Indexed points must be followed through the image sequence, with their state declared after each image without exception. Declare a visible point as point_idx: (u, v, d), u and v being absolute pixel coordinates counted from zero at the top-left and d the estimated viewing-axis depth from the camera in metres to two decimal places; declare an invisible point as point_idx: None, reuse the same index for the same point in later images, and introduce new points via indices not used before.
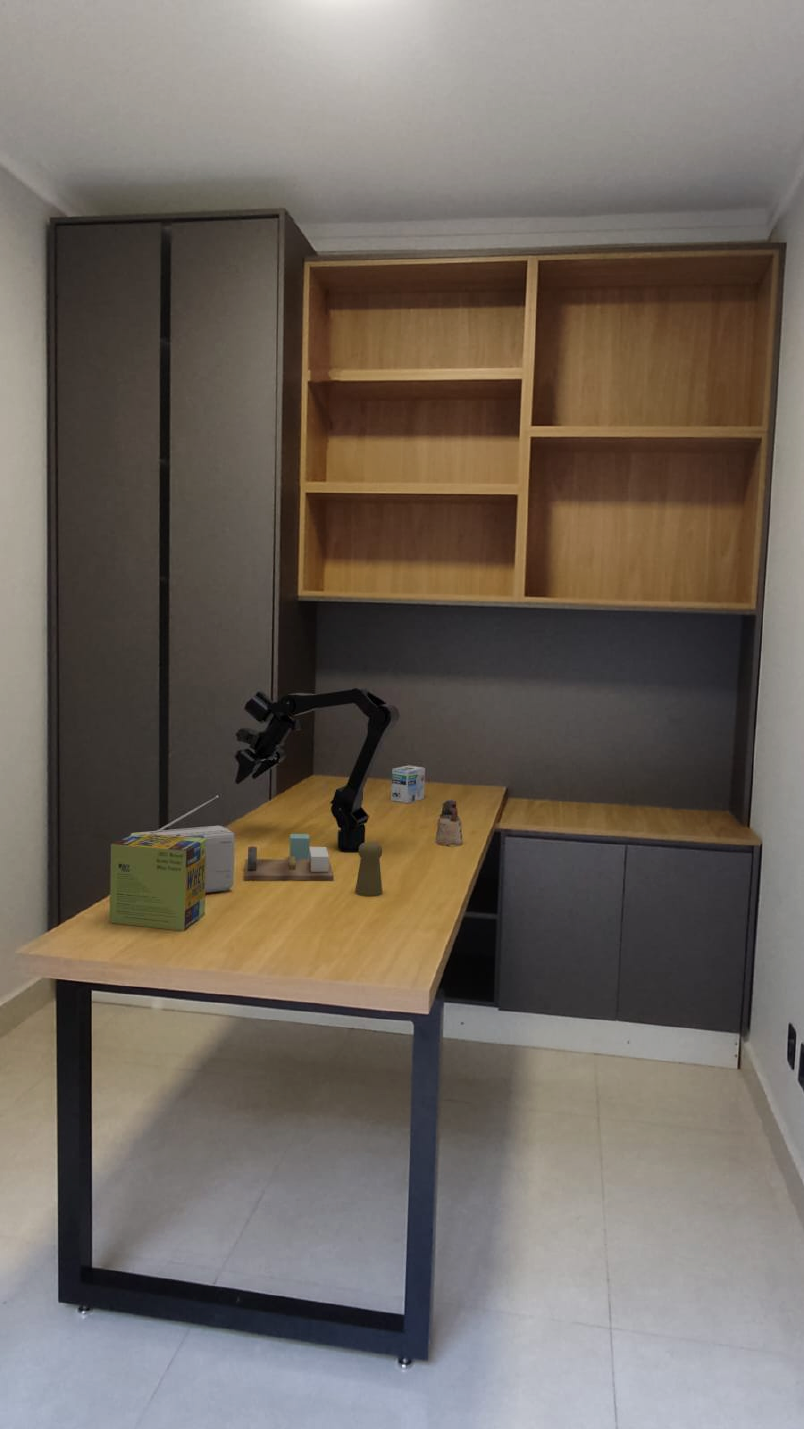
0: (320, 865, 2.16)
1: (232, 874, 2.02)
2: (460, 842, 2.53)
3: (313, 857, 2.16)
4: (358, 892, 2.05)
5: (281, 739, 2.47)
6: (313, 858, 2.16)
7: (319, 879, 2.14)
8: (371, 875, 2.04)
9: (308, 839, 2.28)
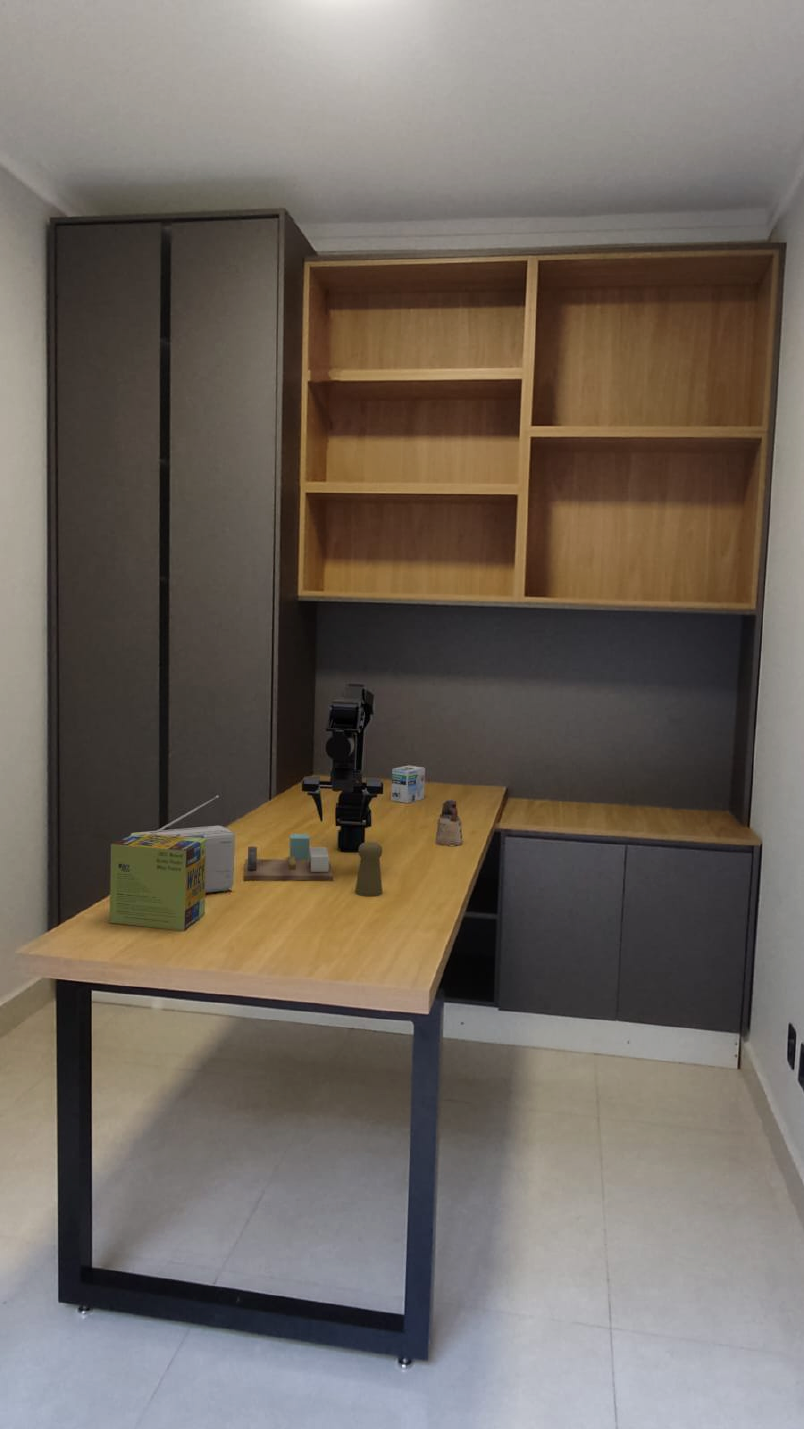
0: (320, 865, 2.16)
1: (232, 874, 2.02)
2: (460, 842, 2.53)
3: (313, 857, 2.16)
4: (358, 892, 2.05)
5: None
6: (313, 858, 2.16)
7: (319, 879, 2.14)
8: (371, 875, 2.04)
9: (308, 839, 2.28)
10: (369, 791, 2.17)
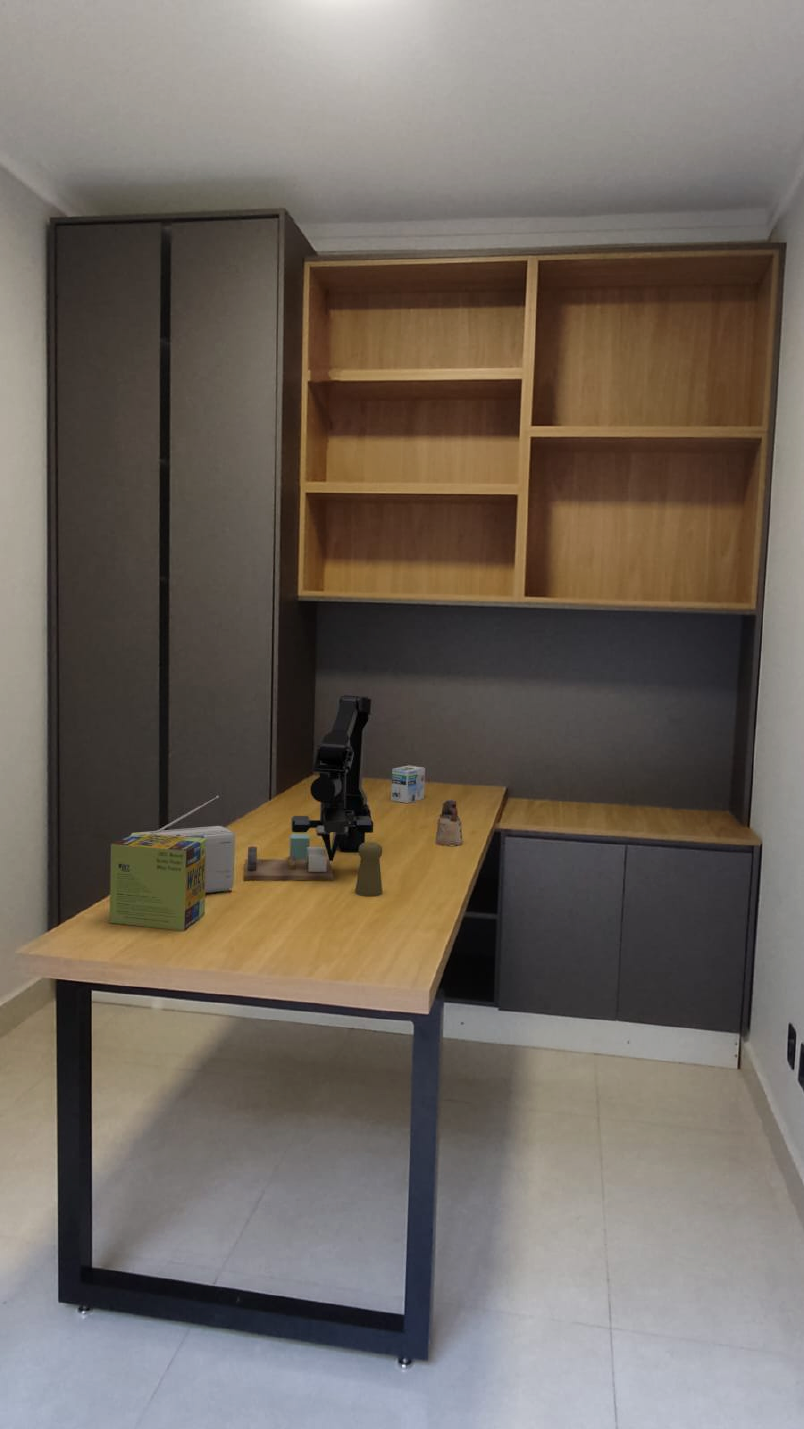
0: (318, 865, 2.16)
1: (232, 874, 2.02)
2: (460, 842, 2.53)
3: (311, 857, 2.16)
4: (358, 892, 2.05)
5: None
6: (311, 858, 2.16)
7: (319, 879, 2.14)
8: (371, 875, 2.04)
9: (308, 839, 2.28)
10: (359, 830, 2.18)
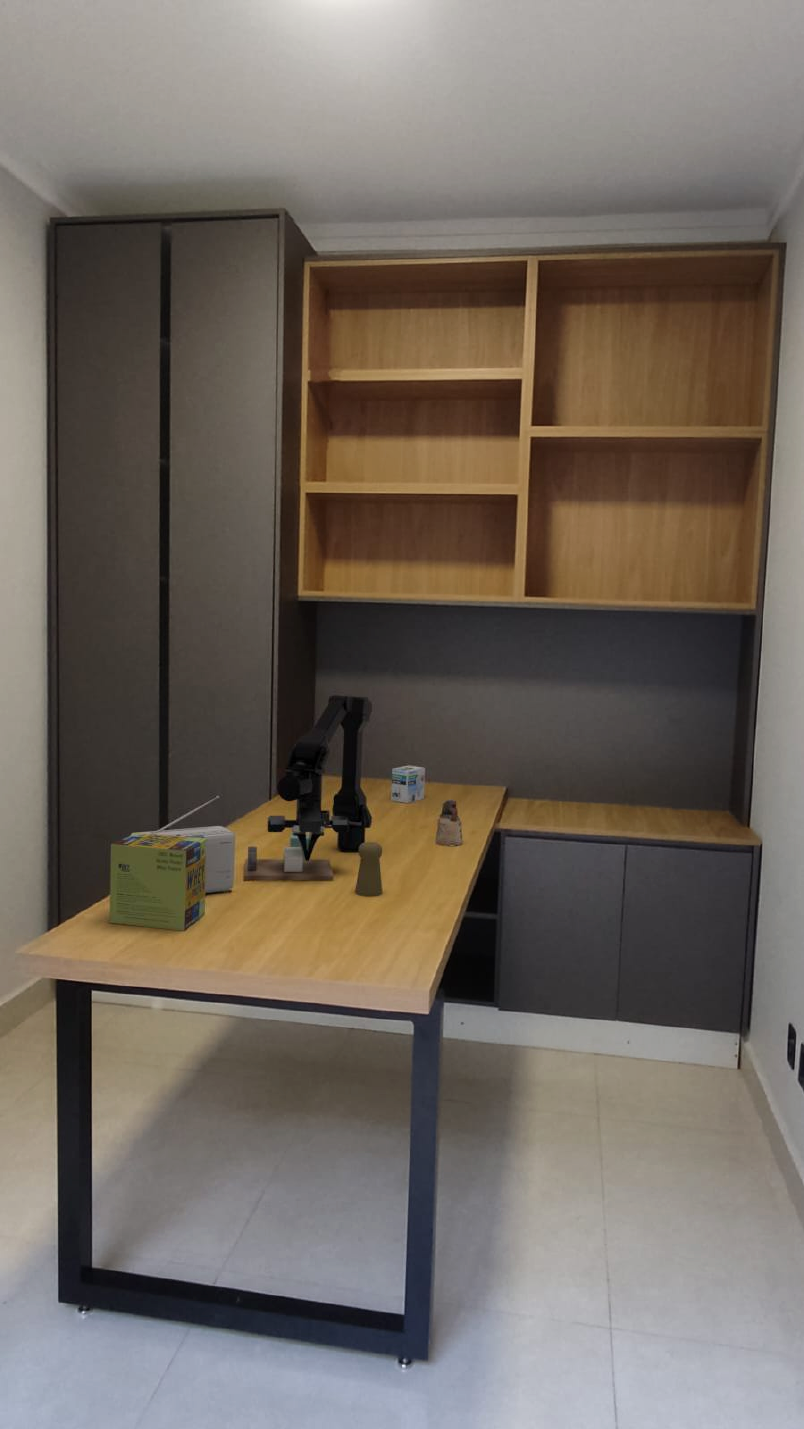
0: (294, 865, 2.15)
1: (232, 874, 2.02)
2: (460, 842, 2.53)
3: (286, 857, 2.15)
4: (358, 892, 2.05)
5: None
6: (286, 858, 2.15)
7: (319, 879, 2.14)
8: (371, 875, 2.04)
9: (308, 839, 2.28)
10: (335, 830, 2.17)
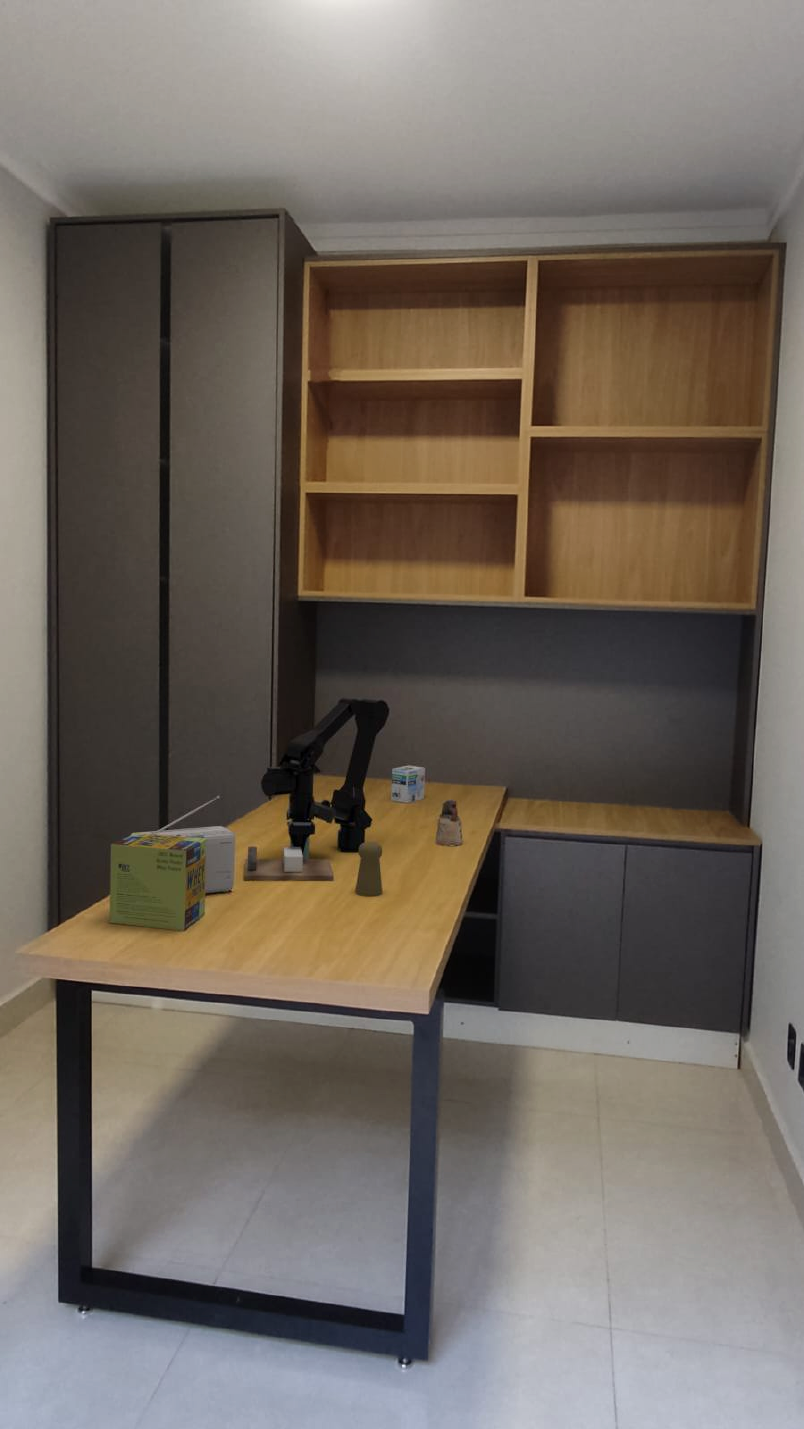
0: (294, 865, 2.15)
1: (232, 875, 2.01)
2: (460, 842, 2.53)
3: (286, 857, 2.15)
4: (358, 892, 2.05)
5: None
6: (286, 858, 2.15)
7: (319, 879, 2.14)
8: (371, 875, 2.04)
9: (308, 839, 2.28)
10: None
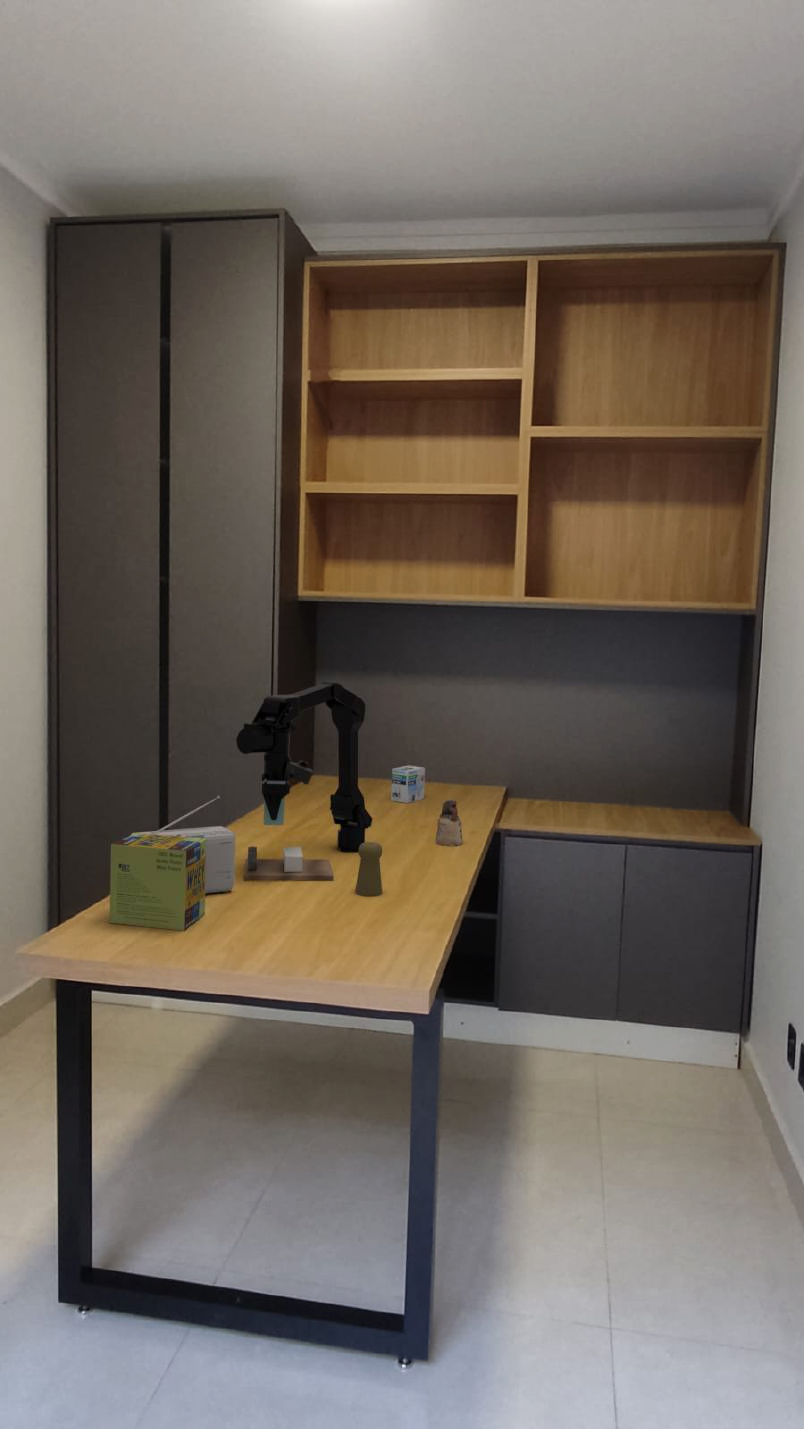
0: (294, 865, 2.15)
1: (232, 875, 2.01)
2: (460, 842, 2.53)
3: (286, 857, 2.15)
4: (358, 892, 2.05)
5: None
6: (286, 858, 2.15)
7: (319, 879, 2.14)
8: (371, 875, 2.04)
9: (283, 800, 2.17)
10: (287, 780, 2.25)
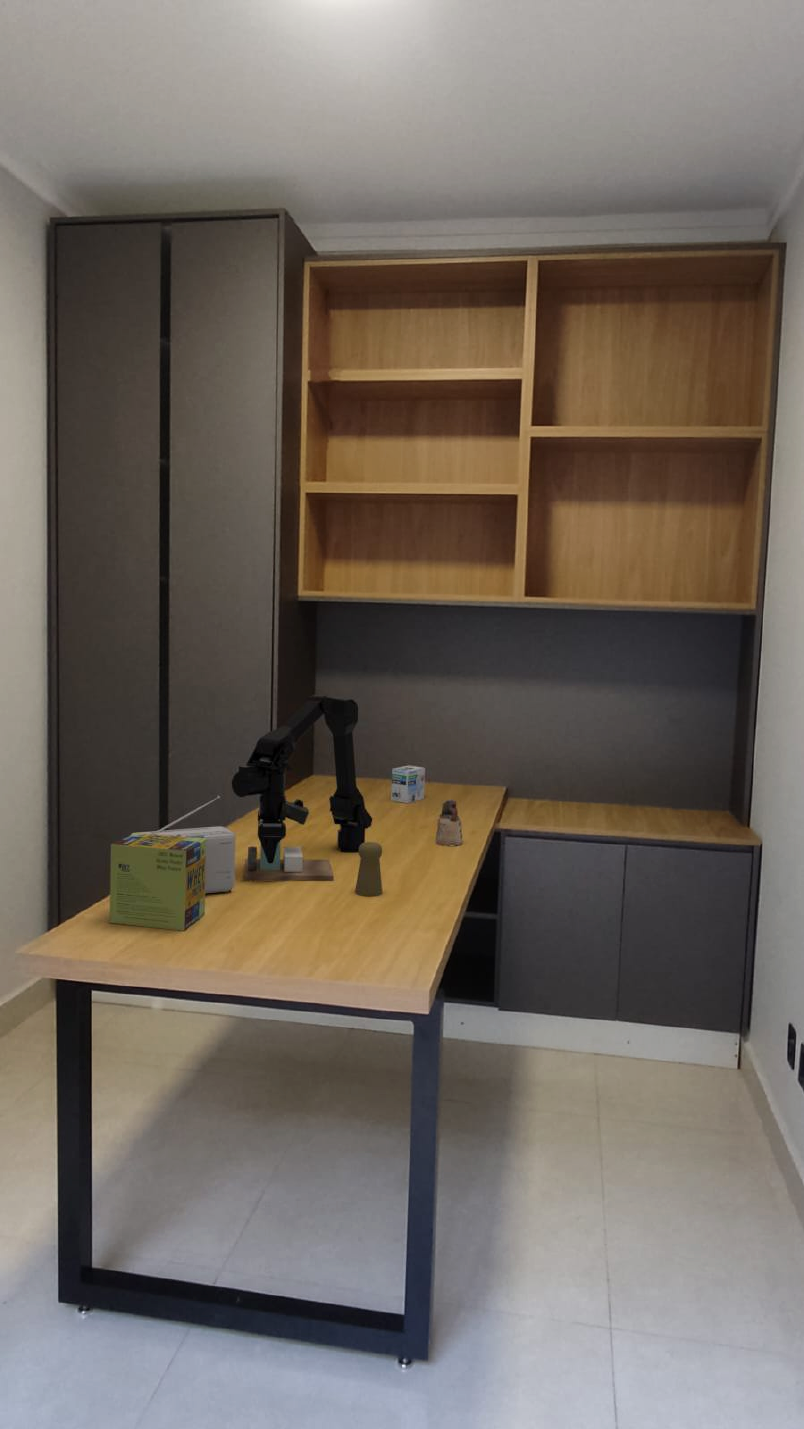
0: (294, 865, 2.15)
1: (233, 875, 2.01)
2: (460, 842, 2.53)
3: (286, 857, 2.15)
4: (358, 892, 2.05)
5: None
6: (286, 858, 2.15)
7: (319, 879, 2.14)
8: (371, 875, 2.04)
9: (279, 845, 2.16)
10: None
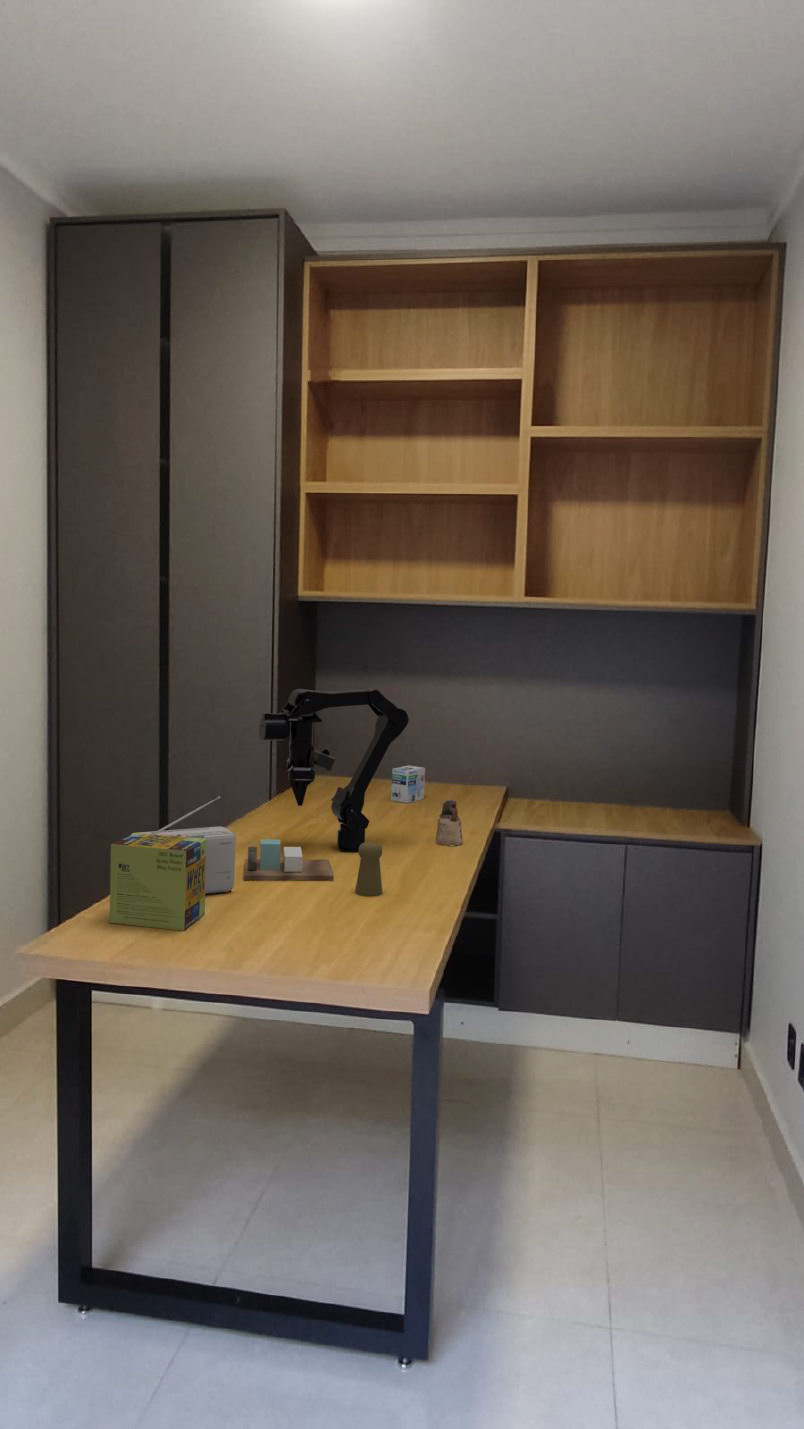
0: (294, 865, 2.15)
1: (233, 875, 2.01)
2: (460, 842, 2.53)
3: (286, 857, 2.15)
4: (358, 892, 2.05)
5: (312, 738, 2.35)
6: (286, 858, 2.15)
7: (319, 879, 2.14)
8: (371, 875, 2.04)
9: (279, 845, 2.16)
10: (311, 766, 2.42)
